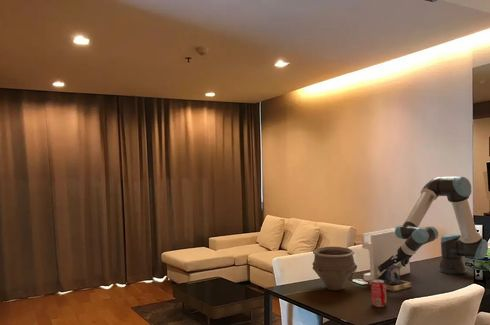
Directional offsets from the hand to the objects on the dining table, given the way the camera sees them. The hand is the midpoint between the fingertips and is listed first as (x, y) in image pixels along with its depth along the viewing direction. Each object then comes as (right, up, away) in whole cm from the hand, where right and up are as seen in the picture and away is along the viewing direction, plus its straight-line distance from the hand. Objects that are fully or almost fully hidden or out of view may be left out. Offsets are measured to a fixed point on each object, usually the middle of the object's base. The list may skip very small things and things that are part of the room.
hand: (386, 272), depth 233 cm
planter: (-30, -8, -3) cm, 31 cm away
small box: (+1, -6, -2) cm, 7 cm away
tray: (+1, -7, -2) cm, 7 cm away
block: (+7, -8, +19) cm, 22 cm away
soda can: (-15, -7, -34) cm, 38 cm away
